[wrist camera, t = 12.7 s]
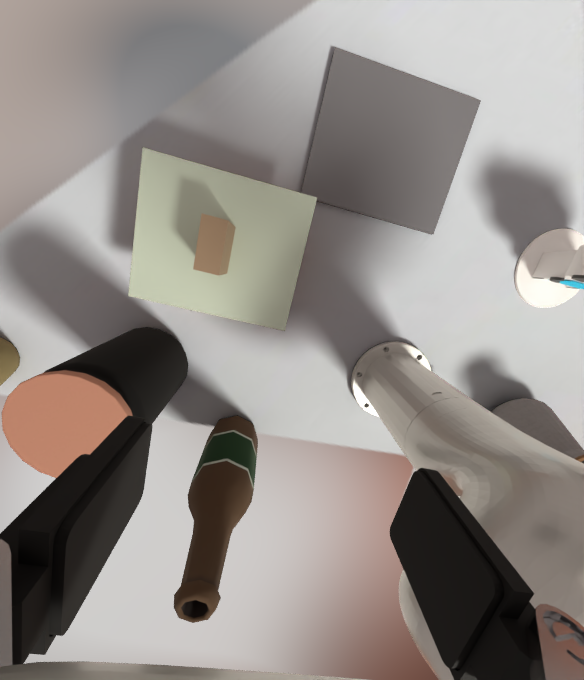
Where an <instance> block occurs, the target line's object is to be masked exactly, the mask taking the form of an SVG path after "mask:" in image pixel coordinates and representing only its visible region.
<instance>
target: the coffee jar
mask: <svg viewBox="0 0 584 680" xmlns="http://www.w3.org/2000/svg"><path fill="white" fill-rule="evenodd" d="M187 369H188V362H187V357H186V353H185V351H184V350H183V348H182V346H181V344H180V343H179V342H178V341H177V340H176V339H175V338H173V337H172V336H171V335H169V334H167V333H165V332H163V331H161V330H159V329H154V328H148V327H145V328H136V329H133V330H131V331H129V332H127V333H125V334H122V335H120V336H118V337H116V338H114V339H112V340H110V341H108V342H106V343H103V344H101V345H99V346H97V347H95V348H93V349H91V350H89V351H87V352H85V353H82V354H80V355H78V356H76V357H74V358H72V359H70V360H68V361H66V362H63V363H61V364H59V365H57V366H55V367H53V368H51V369H49V370H47V371H45V372H44V373H42V374H39V375H37V376H35V377H33V378H31V379H28V380H26V381H24V382H22V383H20V384H19V385H18V386H17V387H16V388H15V389H14V390H13V392H12V393H11V394H10V395H9V396H8V397H7V400H6V402H5V405H4V408H3V411H2V426H3V431H4V433H5V436H6V438H7V440H8V443H9V445H10V447H11V448H12V449H13V450H14V451H15V452H16V454H17V455H18V456H19V457H20V458H21V459H22V460H23V461H24V462H26V463H27V464H29V465H30V466H31V467H33V468H35V469H36V470H37V471H39V472H41V473H44V474H47V475H50V476H52V477H55V478H57V477H58V476H59V475H60V474H61V473H62V472H63V471H64V470H65V469H66V468H67V467H68V466H69V465H70V464H71V463H72V462H73V461H74V460H75V459H76V458H78V457H79V456H80V455H82V454H89V455H90V454H91V453H92V452H93V451H94V450H95V449H96V448H97V447H98V446H99V445H100V444H101V443H102V441H103V440H104V439H105V438H106V437H107V436H108V435H109V434H110V433H111V432H112V431H113V430H114V429H115V428H116V427H117V426H118V425H119V424H120V423H121V422H122V421H123V420H124V419H125V418H126V417H127V416H135V417H141V418H146V419H147V421H148V422H147V424H152V423H153V422H154V421H155V419H156V418H157V417H158V415H159V414H160V413H161V411H162V410H163V409H164V407H165V406H166V405H167V403H168V402H169V401H170V399H171V398H172V397H173V395H174V394H175V393H176V392H177V390H178V389H179V388H180V386H181V385H182V383H183V381H184V379H185V378H186V376H187Z"/></svg>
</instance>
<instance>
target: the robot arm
mask: <svg viewBox="0 0 584 680" xmlns="http://www.w3.org/2000/svg"><path fill="white" fill-rule="evenodd" d="M384 348H385V349H384ZM358 372H359V373H358ZM357 373H358V374H357ZM351 388H352V392H353V395H354V397H355V399H356V401H357V402H358V404H359V405H360V406H361V407H362V408H363V409H364V410H365V411H367V412H368V413H370V414H372V415H375V416H378V417H380V419H381V420H382V422H383V423H384V425H385V426H386V428H387V429H388V431H389V432H390V433H391V435H392V436H393V438H394V439H395V441H396V442H397V444H398V445H399V447H400V448H401V450H402V451H403V453H404V454H405V456H406V457H407V458H408V460H409V461H410V463H411V464H412V466H413V467H414V468H415V470H416V471H415V472H414V473H413V475H412V477H411V480H410V482H409V485H408V487H407V489H406V492H405V494H404V496H403V499H402V501H401V503H400V506H399V508H398V510H397V513H396V515H395V518H394V520H393V522H392V525H391V527H390V537H391V540H392V543H393V545H394V547H395V550H396V552H397V555H398V557H399V559H400V562H401V564H402V566H403V569H404V570H403V572H402V575H401V578H400V583H399V601H400V606H401V610H402V613H403V617H404V619H405V622H406V625H407V627H408V630H409V632H410V634H411V636H412V638H413V640H414V642H415V644H416V645H417V647H418V649H419V651H420V652H421V654H422V656H423V657H424V659H425V660H426V662H427V663H428V665H429V666H430V668H431V669H432V671H433V672H434V673H435V675H436V676H437V677H438V679H439V680H584V464H583V463H581V462H579V461H577V460H575V459H573V458H571V457H569V456H567V455H565V454H563V453H561V452H559V451H557V450H555V449H553V448H551V447H549V446H547V445H545V444H543V443H541V442H540V441H538V440H536V439H534V438H532V437H531V436H529V435H527V434H525V433H523V432H522V431H520V430H518V429H517V428H515V427H513V426H512V425H510V424H509V423H507V422H505V421H504V420H502V419H501V418H499V417H498V416H496V415H495V414H493V413H492V412H490V411H489V410H487V409H486V408H484V407H483V406H481V405H480V404H478V403H477V402H475V401H474V400H472V399H471V398H469V397H468V396H466V395H465V394H464V393H462V392H461V391H459V390H458V389H456V388H455V387H453V386H452V385H451V384H449V383H448V382H446V381H445V380H443V379H442V378H440V377H439V376H438V375H436V374H435V373H433V372H432V371H431V367H430V364H429V362H428V360H427V358H426V357H425V355H424V354H423V353H422V352H421V351H420V350H418V349H417V348H415V347H414V346H412V345H409V344H407V343H403V342H393V341H392V342H386V343H382V344H379V345H377V346H375V347H373V348H371V349H370V350H368V351H367V352H366V353H365V354H364V355H363V356H362V357H361V358H360V359H359V360H358V362H357V364H356V365H355V367H354V370H353V373H352V378H351ZM365 403H366V404H365ZM147 422H148V421H147V419H146V418H141V417H135V416H127V417H126V418H125V419H124V420H123V421H122V422H121V423H120V424H119V425H118V426H117V427H116V428H115V429H114V430H113V431H112V432H111V433H110V434H109V435H108V436H107V437H106V438H105V439H104V440H103V441H102V443H101V444H100V445H99V446H98V447H97V448H96V449H95V450H94V451H93V452H92V453H91V454H90V455H89V454H82V455H80V456H79V457H78V458H76V459H75V460H74V461H73V462H72V463H71V464H70V465H69V466H68V467H67V468H66V469H65V470H64V471H63V472H62V473H61V474H60V475H59V476H58V477H57V478H56V479H55V480H54V481H53V482H52V483H51V484H50V485H49V486H48V487H47V488H46V489H45V490H44V491H43V492H42V493H41V494H40V495H39V496H38V497H37V498H36V499H35V500H34V501H33V502H32V503H31V504H30V505H29V506H28V507H27V508H26V509H25V510H24V511H23V512H22V513H21V514H20V515H19V516H18V517H17V518H16V519H15V520H14V521H13V522H12V523H11V524H10V525H9V526H8V527H7V528H6V529H5V530H4V531H3V532H2V533H1V534H0V680H367V679H353V678H340V677H326V676H313V675H300V674H286V673H271V672H257V671H243V670H228V669H213V668H199V667H183V666H169V665H150V664H128V663H126V664H125V663H106V662H36V663H27V664H23V663H24V662H25V660H26V659H27V657H28V655H29V654H42V655H44V654H46V652H47V650H48V648H49V647H50V645H51V643H52V642H53V640H54V638H55V636H56V635H60V636H61V635H64V634H65V633H66V631H67V630H68V628H69V626H70V625H71V623H72V621H73V620H74V618H75V616H76V614H77V613H78V611H79V609H80V607H81V605H82V603H83V602H84V600H85V598H86V596H87V595H88V593H89V591H90V589H91V588H92V586H93V584H94V582H95V581H96V579H97V577H98V575H99V573H100V572H101V570H102V568H103V566H104V565H105V563H106V561H107V559H108V557H109V556H110V554H111V552H112V550H113V549H114V546H115V545H116V543H117V541H118V539H119V538H120V536H121V534H122V533H123V531H124V529H125V527H126V525H127V524H128V522H129V520H130V518H131V516H132V515H133V513H134V511H135V509H136V507H137V505H138V504H139V502H140V500H141V497H142V494H143V490H144V483H145V476H146V468H147V462H148V455H149V447H150V440H151V433H152V424H147ZM458 496H460V498H459V497H458Z"/></svg>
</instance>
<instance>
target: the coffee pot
mask: <svg viewBox="0 0 584 680" xmlns="http://www.w3.org/2000/svg"><path fill="white" fill-rule="evenodd" d="M491 412H492V413H493V414H495V415H496V416H498V417H499V418H501V419H502V420H504V421H505V422H507V423H509V424H510V425H512V426H513V427H515V428H517V429H518V430H520V431H522V432H523V433H525V434H527V435H529V436H531V437H532V438H534V439H536V440H538V441H540V442H541V443H543V444H545V445H547V446H549V447H551V448H553V449H555V450H557V451H559V452H561V453H563V454H565V455H567V456H569V457H571V458H573V459H575V460H577V461H579V462H581V463H583V464H584V450H583V449H582V447H581V446H580V445H579V444H578V442H577V441H576V440H575V438H574V437H573V436H572V435H571V433H570V432H569V431H568V430H567V428H566V427H565V426H564V424H563V423H562V422H561V421H560V419H559V418H558V417H557V415H556V414H555V413H554V412H553V410H552V409H551V408H550V407H549V406H547V405H546V404H545V403H543V402H541V401H538V400H535V399H523V398H520V399H514V400H511V401H508V402H506V403H503V404H501V405H499V406H497V407H496V408H494V409H493V410H492V411H491Z"/></svg>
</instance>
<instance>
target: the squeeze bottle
mask: <svg viewBox="0 0 584 680" xmlns="http://www.w3.org/2000/svg"><path fill="white" fill-rule="evenodd" d="M19 362H20V357H19V354H18V351H17V350H16V348H15V347H14V346H13V345H12V344H11V343H10V342H8V341H7V340H5V339H3V338H0V386H1V385H2V384H3V383H4V382H5V381H6V380H7V379H8V378H9V377H10V376H11V375H12V374H13V373H14V372H15V371H16V369H17V368H18V366H19Z"/></svg>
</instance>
